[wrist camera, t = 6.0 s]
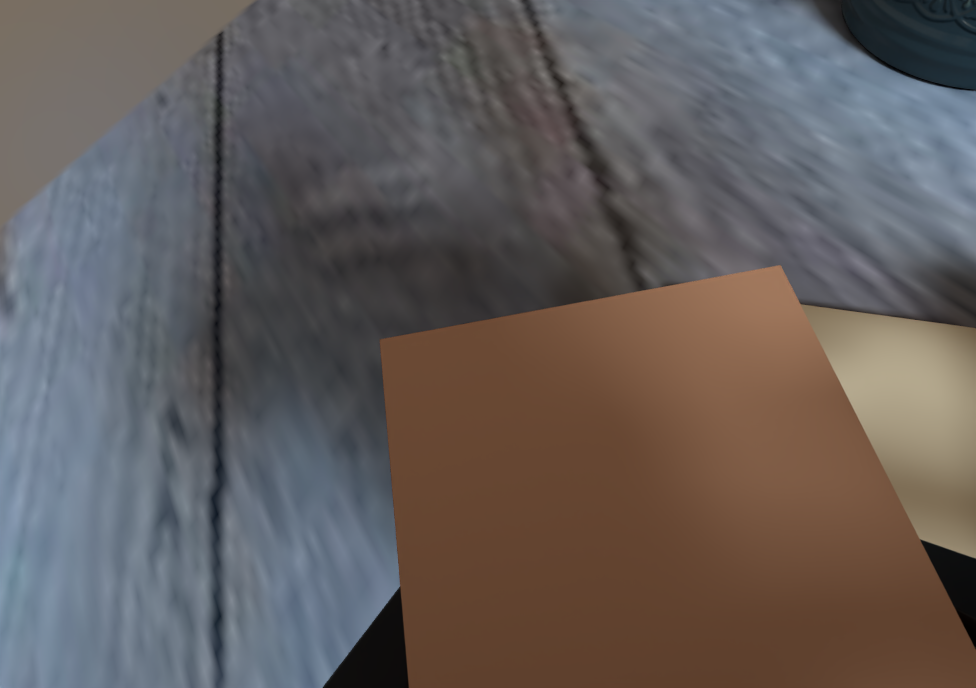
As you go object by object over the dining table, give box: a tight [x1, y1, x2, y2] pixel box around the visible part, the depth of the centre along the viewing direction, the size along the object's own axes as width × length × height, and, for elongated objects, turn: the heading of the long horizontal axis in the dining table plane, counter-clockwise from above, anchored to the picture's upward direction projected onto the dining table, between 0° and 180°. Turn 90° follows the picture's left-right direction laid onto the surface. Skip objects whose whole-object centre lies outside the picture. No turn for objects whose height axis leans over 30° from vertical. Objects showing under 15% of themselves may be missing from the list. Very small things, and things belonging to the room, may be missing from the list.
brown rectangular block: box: [380, 265, 976, 688], centre depth 9 cm, size 7×4×10 cm, turn 9°
